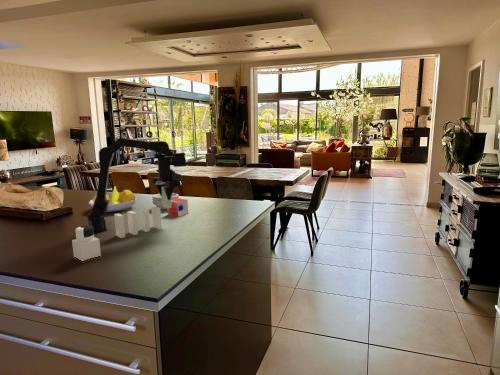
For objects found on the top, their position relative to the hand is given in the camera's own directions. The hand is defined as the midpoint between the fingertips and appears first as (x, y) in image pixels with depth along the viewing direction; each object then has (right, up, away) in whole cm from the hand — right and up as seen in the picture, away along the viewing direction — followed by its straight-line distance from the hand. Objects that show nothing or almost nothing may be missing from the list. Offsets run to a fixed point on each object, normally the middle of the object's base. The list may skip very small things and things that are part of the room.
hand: (166, 199), depth 167 cm
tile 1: (-17, -16, -14) cm, 27 cm away
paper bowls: (-9, -7, +37) cm, 39 cm away
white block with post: (-21, -21, -38) cm, 48 cm away
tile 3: (-8, -15, -6) cm, 18 cm away
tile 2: (-13, -15, -10) cm, 22 cm away
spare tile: (0, -4, +1) cm, 4 cm away
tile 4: (-4, -14, -2) cm, 14 cm away
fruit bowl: (-40, -7, +38) cm, 55 cm away
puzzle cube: (+1, -9, +23) cm, 24 cm away
